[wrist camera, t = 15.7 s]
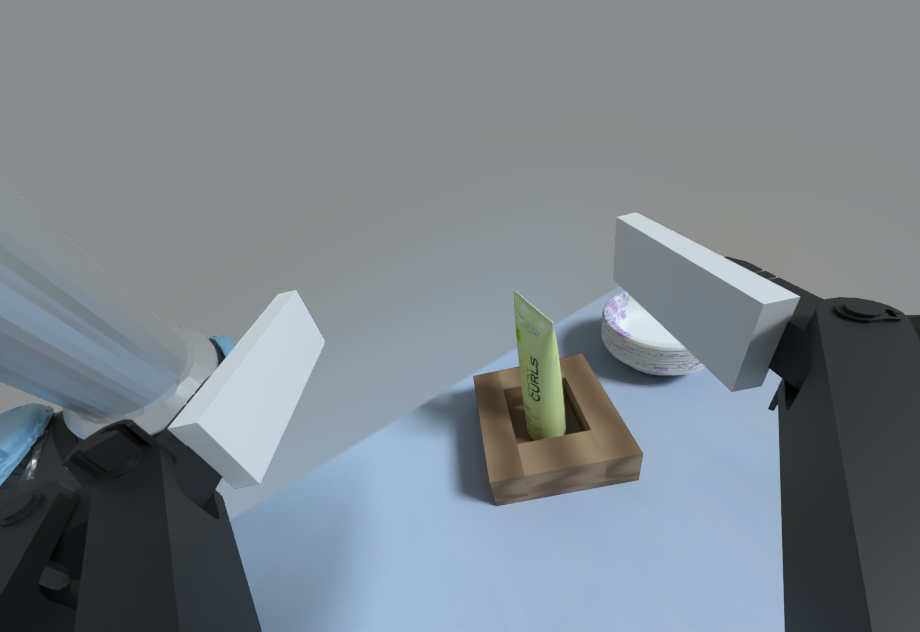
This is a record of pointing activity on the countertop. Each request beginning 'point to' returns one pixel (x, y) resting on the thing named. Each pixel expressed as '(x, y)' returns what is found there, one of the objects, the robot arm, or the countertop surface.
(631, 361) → the paper bowls
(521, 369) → the tube
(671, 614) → the countertop surface
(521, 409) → the socket block
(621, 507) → the countertop surface
